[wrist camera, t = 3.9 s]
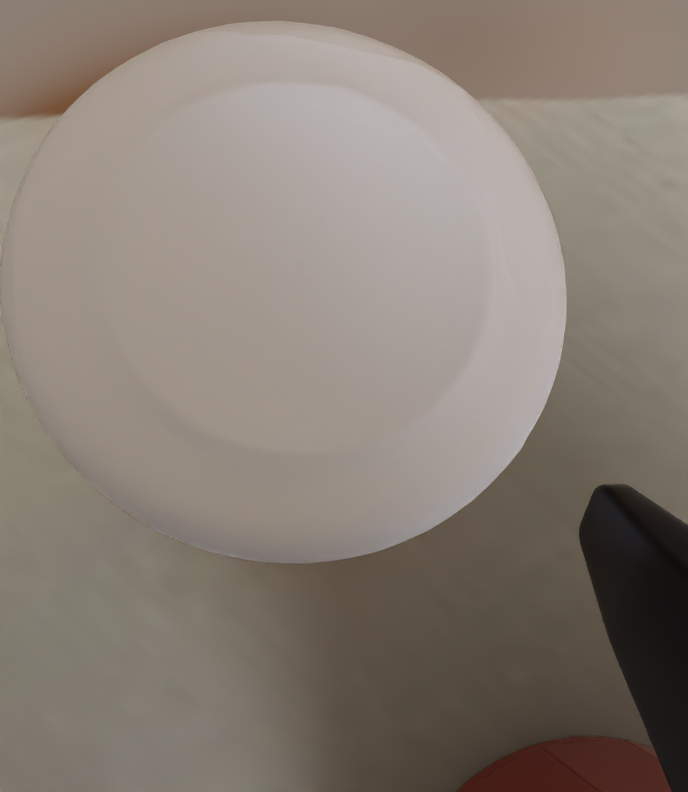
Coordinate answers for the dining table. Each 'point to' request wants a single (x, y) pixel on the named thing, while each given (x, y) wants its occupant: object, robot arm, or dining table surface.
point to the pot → (574, 768)
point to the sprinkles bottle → (283, 292)
